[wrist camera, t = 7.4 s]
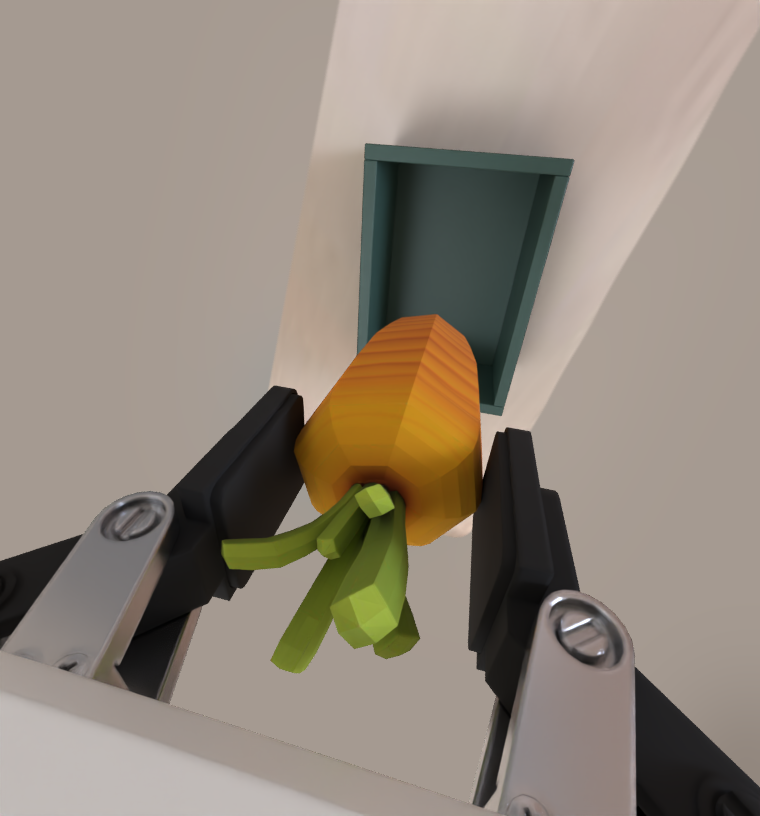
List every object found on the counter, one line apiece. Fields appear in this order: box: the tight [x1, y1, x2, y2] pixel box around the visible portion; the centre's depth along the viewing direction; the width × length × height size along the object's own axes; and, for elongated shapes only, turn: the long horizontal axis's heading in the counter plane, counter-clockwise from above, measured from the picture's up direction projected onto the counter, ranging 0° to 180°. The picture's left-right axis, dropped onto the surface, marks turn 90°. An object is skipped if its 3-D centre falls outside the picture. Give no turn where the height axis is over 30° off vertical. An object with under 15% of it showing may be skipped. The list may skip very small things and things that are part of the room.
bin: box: [357, 143, 574, 416], centre depth 29 cm, size 17×12×8 cm
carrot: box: [221, 314, 483, 673], centre depth 12 cm, size 5×5×15 cm
